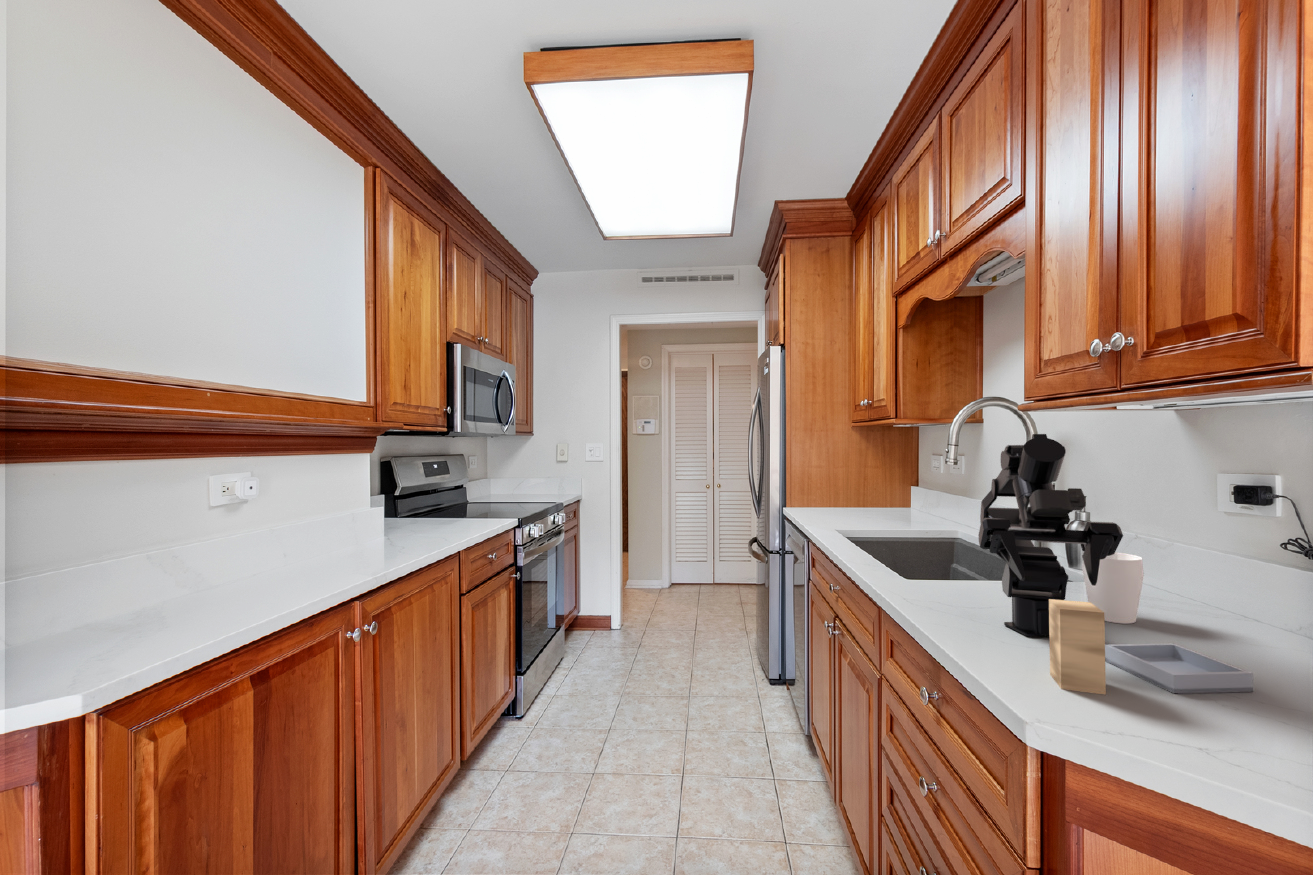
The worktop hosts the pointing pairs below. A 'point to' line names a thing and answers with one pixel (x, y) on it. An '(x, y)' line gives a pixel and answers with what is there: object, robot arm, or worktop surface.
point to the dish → (1178, 668)
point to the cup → (1117, 587)
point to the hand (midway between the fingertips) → (1058, 581)
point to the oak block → (1077, 646)
